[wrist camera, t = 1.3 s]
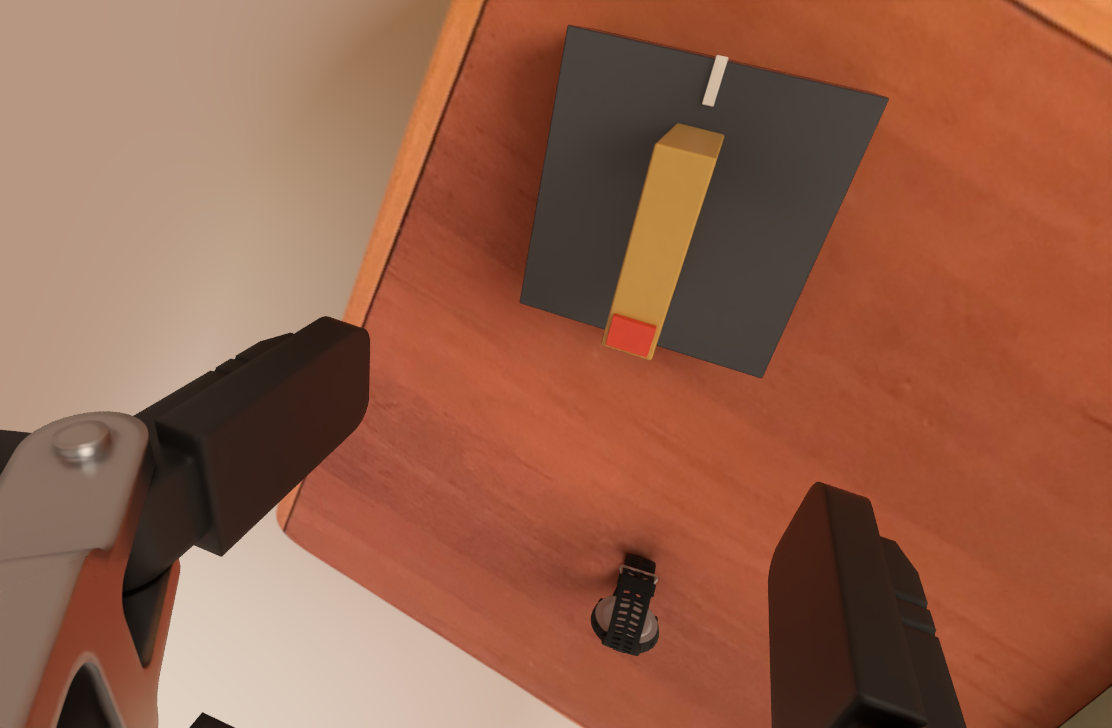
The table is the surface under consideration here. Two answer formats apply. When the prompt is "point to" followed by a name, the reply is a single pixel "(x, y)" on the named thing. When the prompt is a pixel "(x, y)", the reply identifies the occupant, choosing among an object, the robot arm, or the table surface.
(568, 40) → the plate
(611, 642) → the smartwatch
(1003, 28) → the table surface
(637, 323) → the lock knob
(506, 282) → the table surface
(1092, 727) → the doorbell
